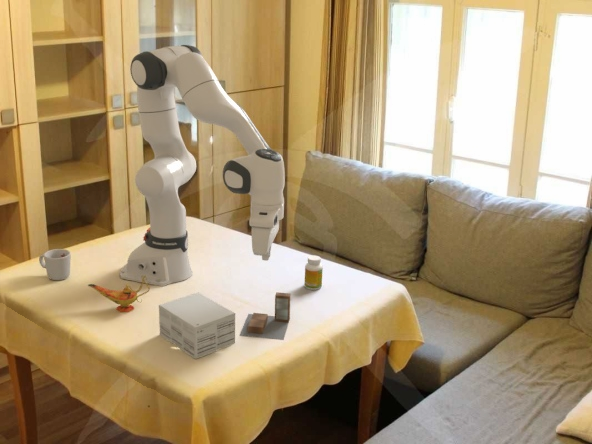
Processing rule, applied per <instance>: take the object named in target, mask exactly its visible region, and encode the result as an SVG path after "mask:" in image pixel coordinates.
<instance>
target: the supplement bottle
mask: <svg viewBox="0 0 592 444" xmlns="http://www.w3.org/2000/svg"><path fill="white" fill-rule="evenodd" d="M321 259H322V258H321V257H320V256H318V255H309V256H308V257H307V263H305V265H304V287H305V288H306V289H308V290H312V291H315V290H317V291H318V290H320V289H321V288H322V286H323V285H322V284H323V269H324V268H323V264H322V263H321V261H322V260H321Z"/></svg>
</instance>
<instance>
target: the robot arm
mask: <svg viewBox="0 0 592 444" xmlns="http://www.w3.org/2000/svg"><path fill="white" fill-rule="evenodd" d="M130 75H131V78H132V81H133V82H134V84H135V85H136V97H137V98H136V100H137V108H138V110H137V111H138V115H139V123H140V129H141V135H142V138H143V139H144V140H145V141H146V142H147V143H149V146H150V147H151V149H152V152H153V154H154V158H153V159H150V160H148V161H146V162H145V163H144V164H143V165H142V166H141V167H140V168H139V169H138V170H137V172H136V174H135V178H134V181H135V186H136V188H137V190H138V191H139V192H140V194H141V195H142V196H144V198H145V200H146V204H147V206H148V211H149V224H150V225H149V228H148V229H147V230H146V232H145V234H144V236H143V237H142V238H143V239H142V240H143V241H144V242H143V243H141V244H140V245H139V246H137V247H136V248H135V249H133V250H132V251H131V252H130V254H129V255H128V257H127V262H126V264H124V265H123V266H122V268H121V269H120V270H119V278H120V279H122V280H128V281H132V282H139V283H142V282H143V283H142V284H144V281H145V282H146V283H147V284H148V285H149V284H150V285H155V286H160V287H163V286H167V285H169V284H173V283H178V282H179V283H180V282H182V281H185V280H187V279H189V278H190V277H191V276H192V275H193V270H192V267H191V263H190V258H189V254H188V248H189V233H188V230H187V211H186V207H185V206H184V204H183V203H182V202H181V200H180V197H179V188H180V187H181V186H183V185H184V184H186V183H188V182H189V180H191V178H192V177H193V176H194V174H195V172H197V171H196V170H197V161H196V159H195V156H194V154H192V153H191V152H190V151H189V150H188V149H187V147H186V145H185V141H184V139H183V137H182V134H181V130H180V124H179V119H178V118H179V117H178V111H177V104H176V98H175V89H176V88H177V90H178V92H179V95H180V96H181V99H182V101H183V102H184V105H185V107H186V108H187V111H188V112H189V114H191V116H192V117H193V118H194V119H195V120H196V121H197V120H198V121H199V122H202V123H203V124H204V123H205V124H208V125H214V126H215V125H216V126H219V127H222V128H225V129H227V130H229V131H231V132H232V134H233V135H235V137H236V138H237V140H238V141H239V143H240V144H241V146H242V147H243V148H244V150H245V152H246V153H247V154H248V155H242V156H238V157H236V158H233V159H230V160H228V161H226V163H225V165H224V166H223V169H222V180H223V183H224V185H225V187H226V188H227V189H228V190H229V191H230V192H231V193H234V194H237V195H247V194H248V195H249V196H250V215H249V224H248V225H249V226H250V227H251V247H252V252H253V255H255V256H261V260H262V261H269V259H270V257H271V250H272V245H273V243H274V241H275V238H276V236H277V235H278V233H279V230H280V229H279V228H280V221H281V220H282V219H284V217H285V216H284V211H285V197H284V188H285V185H286V183H285V182H286V181H285V179H286V175H285V174H286V173H285V172H286V171H285V162H284V159H283V158H284V157H283V156H282V155H281V154H280V152H278V151H276V150H274V149H272V148H271V147H270V145H268V143H267V142H266V140H265V139H264V137H263V136H262V134H261V133H260V131H259V130H258V129H257V127H256V126H255V124H254V123H253V121H252V119H251V118H250V117H249V116H248V113H247V112H246V110H244V109H243V107H241V105H240V104H238V102H235V101H234V100H233V99H232V98H231V97H230V95H229V94H228V93H227V92H226V90H225V89H224V88H223V87H222V85H221V83H220V81H219V79H218V77H217V75H216V74H215V72H214V70H213V69H212V67H211V66H210V64H209V63H208V62H207V61H206V59H205V58H204V57H203V54H202V52H201V50H200V49H198V47H196V46H193V45H189V44H181V45H172V46H163V47H160V48H157V49H153V50H150V51H143V52H139V53H138V54H136V55H135V56H134V57H133V58H132V59H131V64H130ZM145 275H146V278H147V280H146V278H144V281H142V278H143V277H144V276H145ZM141 276H142V278H141Z"/></svg>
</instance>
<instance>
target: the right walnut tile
mask: <svg viewBox="0 0 592 444" xmlns="http://www.w3.org/2000/svg"><path fill="white" fill-rule="evenodd" d="M291 295H292V294H291V293H287V292H276V293H275V296H274V316H275V321H278V322H289V323H290V319H291Z"/></svg>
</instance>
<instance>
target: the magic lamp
mask: <svg viewBox="0 0 592 444" xmlns="http://www.w3.org/2000/svg"><path fill="white" fill-rule="evenodd" d="M141 278H142V276H141ZM144 278H146V275H145V276H144V277H143V278H142V281H144ZM146 280H147V278H146ZM144 283H145V285H146V286H147V287H148V289H147V290H146V291H145V292H143V293H141V294H139V295H138V293H139V292H140V291H141V289H142V287H143V285H144ZM144 283H143V282H140V286H139V288H138V289H137V290H134V289H132V287H130V286H129V284H128V285H127V284H126V286H125V288H124V289H121V290H111V289H106V288H104V287H102V286H99V285H96V284H93V283H90V284H88V285H87V286H88V287H89V288H92V289H94V290H95V291H96V292H98V293H99V294H100V295H102V296H103V297H105V298H106V299H108V300H110V301H112V302H113V303H115V304H118V306H117V307H116V308H115V309H116V312H119V313H124V314H125V313H131V312H133V311H134V310H135V306H134V305H133V304H134V303H135V302H136V301H137V303H142V301H143V300H142V299H141V298H140V299H141V301H138V298H139V297H141V296H143V295H145V294H147V293H148V292H149V291H150V290H151V288H150V286H149V284H148V283H146V282H145V281H144Z"/></svg>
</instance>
